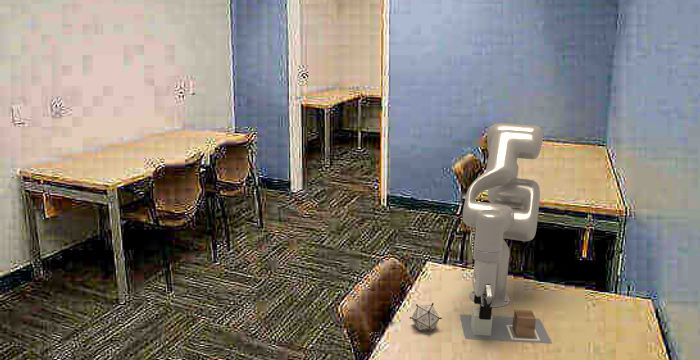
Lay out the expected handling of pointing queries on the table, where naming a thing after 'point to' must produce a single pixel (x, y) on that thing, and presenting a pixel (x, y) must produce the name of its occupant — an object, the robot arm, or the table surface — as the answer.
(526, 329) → the walnut block
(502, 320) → the board
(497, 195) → the robot arm
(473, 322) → the sage block
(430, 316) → the game die
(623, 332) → the table surface
